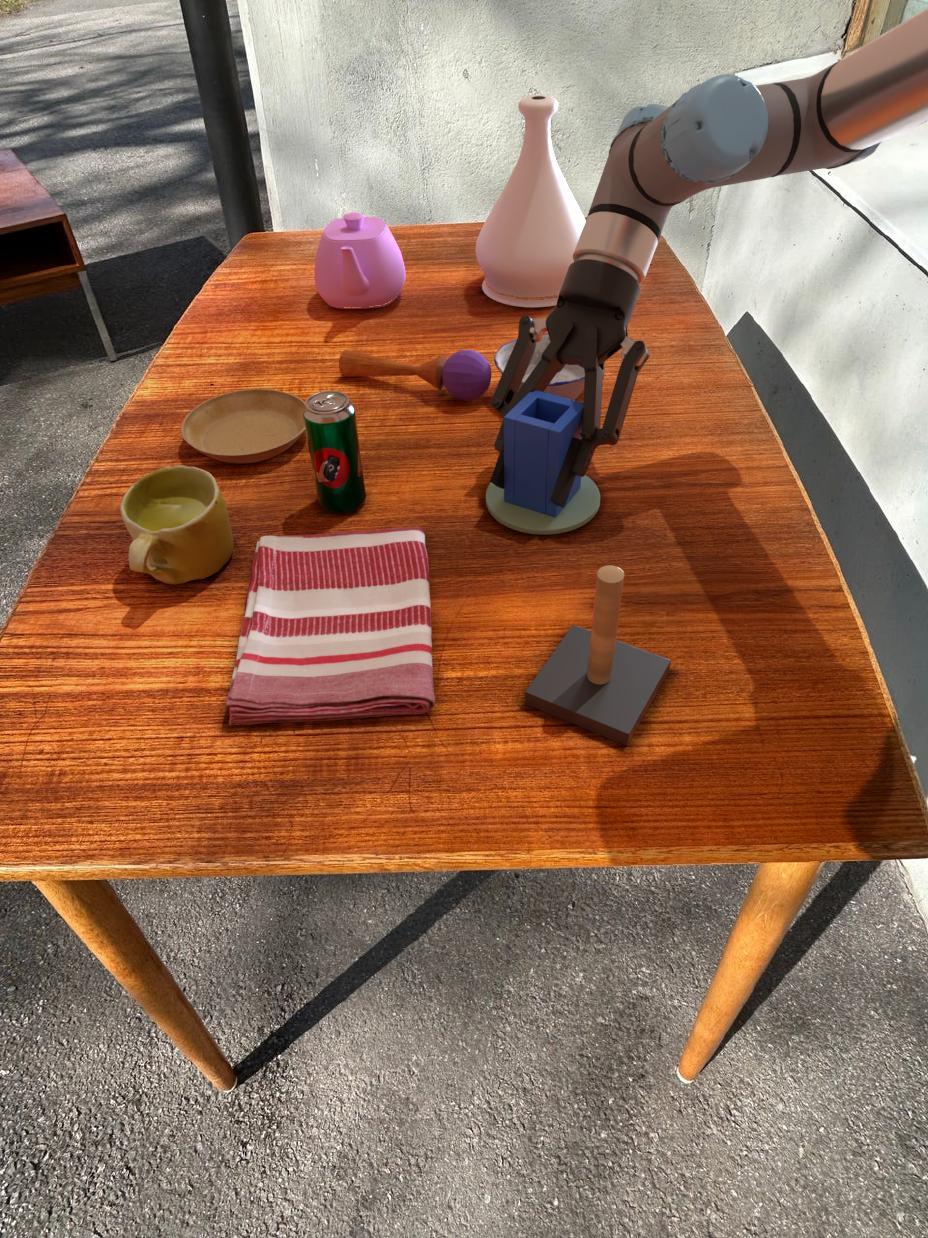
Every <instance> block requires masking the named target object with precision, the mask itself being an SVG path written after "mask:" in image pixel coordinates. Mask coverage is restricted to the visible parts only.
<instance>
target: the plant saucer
mask: <svg viewBox="0 0 928 1238" xmlns="http://www.w3.org/2000/svg"><path fill="white" fill-rule="evenodd" d="M305 402H306V401H304V399H302V398H300V397H299V396H297V395H296V394H293V393H290V392H287V391H283V390H279V389H272V388H246V389H239V390H233V391H228V392H225V393H221V394H219V395H216V396H213V397H211V398H209V399H206V400H204V401H202V402H201V403H199V404H198V405H196V406H195V407H193V408H192V410H190V411H189V412H188V413H187V414H186V416H185V417H184V419H183V421H182V423H181V426H180V431H181V435H182V436H181V437H182V438H183V439H184V441H185V442H186V443H187V444H188V445H189V446H190V447H192V448H193V449H195V450H196V451H198V452H199V453H201V454H203V455H204V456H207V457H209V458H211V459H214V460H217V461H219V462H223V463H229V464H252V463H259V462H263V461H266V460H270V459H272V458H274V457H277V456H279V455H281V454H282V453H284V452H286V451H287V450H288V449H289V448H291V446H293V445H294V444H295V443H296V441H298V440H299V438H300V437H302V435H303V434H304V432H305V431H306V430H305V424H304V418H303V411H304V409H305Z"/></svg>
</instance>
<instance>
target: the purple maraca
mask: <svg viewBox="0 0 928 1238" xmlns="http://www.w3.org/2000/svg"><path fill="white" fill-rule="evenodd" d="M338 368H339V373H340V374H341V376H342V377H345V378H347V377H348V378H351V377H388V376H389V377H390V376H391V377H392V376H394V377H395V376H418V377H419V378H420V379H422V380H424V381H425V382H426V383H428V384H429V385H431V386H432V387H434V388H436V389H437V390H438V391H444V390H446V391H447V392H448V393H447V394H449V395H451V396H452V397H454V398H455V399H456V400H458V401H464V402H465V401H466V402H470V401H473V400H476V399H479V398H481V397H483V395H484V394H485V393H486V392H487V391H488V390H489V389H490V385H491V381H492V367H491V365H490V363H489V361H488V360H487V359H486V357H485V356H484V355H483V354H481V353H480V352H478V351H476V350H472V349H461V350H459V351H457V352H453V353H452V354H451V355H450V357H449V356H448V357H447V356H446V355H445V354H443V355H440V356H438V357H436V358H433V359H430V360H428V361H425V362H423V363H421V364H419V365H415V364H411V363H406V362H401V361H397V360H393V359H388V358H385V357H379V356H376V355H371V354H370V355H369V354H367V353H362V352H358V351H354V350H348V349H344V350H343V351H342V352H341V353H340V356H339V360H338Z"/></svg>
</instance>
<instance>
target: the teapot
mask: <svg viewBox="0 0 928 1238" xmlns="http://www.w3.org/2000/svg"><path fill="white" fill-rule="evenodd" d="M315 254H316V255H315V259H314V270H313V271H314V285H315V286H314V287H315V289H316V291H317V292H318V295H319V296H320V297H321V299H322V300H323V301H324V302H325V303H326V304H327V305H328V306H330V307H332V308H335V309H345V310H359V309H361V310H362V309H363V310H364V309H375V308H384V307H386V306H387V305H390V304H392V303H393V302H394V301H395V300H396V299H397V298H398V296H399V295H400V293H401V291H402V289H403V288H404V285H405V282H406V279H407V275H406V273H407V272H406V267H405V263H404V259H403V256H402V255H403V254H402V252H401V249H400V247H399V245H398V243H397V241H396V239H395V237H394V235H393V233H392V231H391V230H390V228H389V226H388V225H387V224H386V222H385V221H384V220H383V219H381V218H379V217H376V216H366V215H365V214H363V213H361V212H357V211H355V212H353V211H352V212H348V213H346V214H344V215H343V217H341V218H340V217H339V218H336V219H333V220H332V221H330V222H329V223H328V224H327V225H326V226H325V227H324V229H323V231H322V234H321V236H320V240H319V243H318V246H317V250H316V253H315ZM397 295H398V296H397ZM393 299H394V300H393ZM391 300H393V301H392V302H390V303H388V302H389V301H391ZM385 303H388V304H385ZM382 304H385V305H382ZM375 305H381V306H375ZM369 306H374V307H369ZM344 307H351V308H344ZM352 307H361V308H352Z"/></svg>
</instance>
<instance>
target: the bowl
mask: <svg viewBox="0 0 928 1238" xmlns="http://www.w3.org/2000/svg"><path fill="white" fill-rule="evenodd" d="M517 339H518V338H515V339H513V340H511V341H509V342H506V343H504V344H503V345H501V347H499V348H498V349H497V351H496V352H495V354H494V357H493V361H494V365H495V367H496V368H497V370H498V371H499V373H500V374H501V375H502V374H503V371H504V369H505V367H506V364H507V362H508V360H509V357H510V355H511V353H512V350H513V348H514V346H515V343H516V341H517ZM549 343H550V339H549V335H548V333H544V334H543V336H542V338H541V341H539V342H537V343H536V348H535V351H534V354H533V356H532V359H531V361H530V363H529V366H528V368H527V370H526V373H525V375H524V377H523V380H522V382H521V384H520V387H519V389H520V388H521V387H522V385H523V384H524V382H525V381H526V379H527V378H528V377H529V375H530V374H531V372H532V371H533V370H534V368H535V367H536V365H537V364H538V363H539V361H540V360H541V357H542V353H543V352H544V350H545V349H546V347H547V346H548V345H549ZM584 380H585V371H584V368H582V367H580V366H579V365H567V364H566V365H565V366H564V368H563V369H562V370H561V371H560V372H558V373H557V374H556V375H555V377H554V378H553V379H552V381H551V382H550V384H549V385H548V386H547V388H546V389H545V391H544V392H543V393H547V394H551V395H555V396H559V397H563V398H567V399H571V400H575V401H576V399H578V398H580V396H581V394H582V393H583V392H584ZM519 389H518V391H519ZM518 391H517V392H518Z"/></svg>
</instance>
